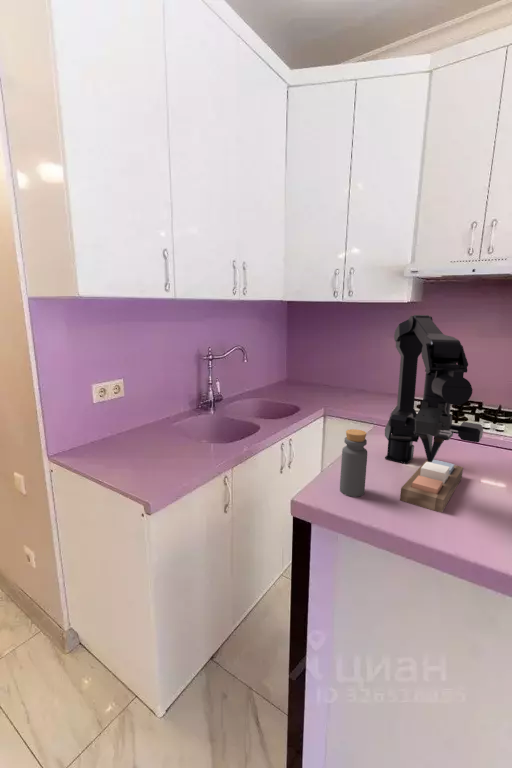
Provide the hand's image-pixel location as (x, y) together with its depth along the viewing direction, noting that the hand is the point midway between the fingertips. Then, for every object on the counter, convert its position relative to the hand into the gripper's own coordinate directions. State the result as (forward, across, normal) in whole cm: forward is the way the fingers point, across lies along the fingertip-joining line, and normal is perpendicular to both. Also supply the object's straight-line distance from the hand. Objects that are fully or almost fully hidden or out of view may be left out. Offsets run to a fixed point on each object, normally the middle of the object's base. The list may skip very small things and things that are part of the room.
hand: (430, 461), depth 87 cm
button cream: (+7, 0, +7) cm, 10 cm away
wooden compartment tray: (+9, 0, +7) cm, 12 cm away
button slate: (+9, 0, +14) cm, 17 cm away
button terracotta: (+9, 0, 0) cm, 9 cm away
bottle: (+9, -15, -8) cm, 19 cm away
